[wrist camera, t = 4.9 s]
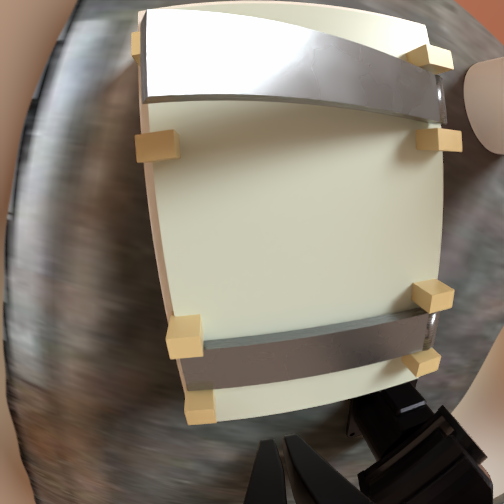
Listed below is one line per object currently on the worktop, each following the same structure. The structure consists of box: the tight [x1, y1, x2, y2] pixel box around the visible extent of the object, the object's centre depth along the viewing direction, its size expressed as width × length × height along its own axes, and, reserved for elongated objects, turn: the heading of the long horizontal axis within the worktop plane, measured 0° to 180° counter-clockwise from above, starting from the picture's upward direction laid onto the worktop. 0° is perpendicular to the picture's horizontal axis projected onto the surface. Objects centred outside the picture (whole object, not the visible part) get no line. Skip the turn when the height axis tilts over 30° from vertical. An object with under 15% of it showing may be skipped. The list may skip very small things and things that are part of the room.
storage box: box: [131, 1, 462, 425], centre depth 16 cm, size 22×15×8 cm
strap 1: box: [140, 9, 447, 125], centre depth 9 cm, size 14×2×1 cm, turn 94°
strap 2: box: [180, 307, 440, 391], centre depth 15 cm, size 14×2×1 cm, turn 94°
